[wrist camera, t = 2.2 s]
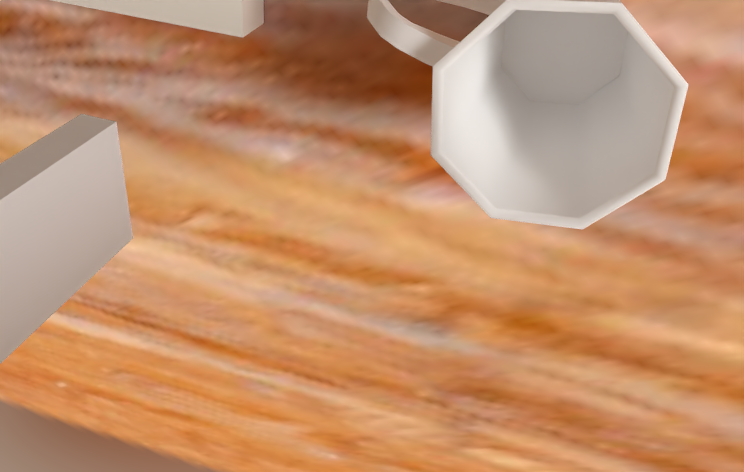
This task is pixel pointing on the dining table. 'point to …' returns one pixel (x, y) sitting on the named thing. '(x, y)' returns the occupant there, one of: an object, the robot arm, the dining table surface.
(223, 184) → the dining table surface
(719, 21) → the dining table surface
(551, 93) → the cup
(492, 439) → the dining table surface
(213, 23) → the flat u-shaped bracket
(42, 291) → the robot arm
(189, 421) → the dining table surface
